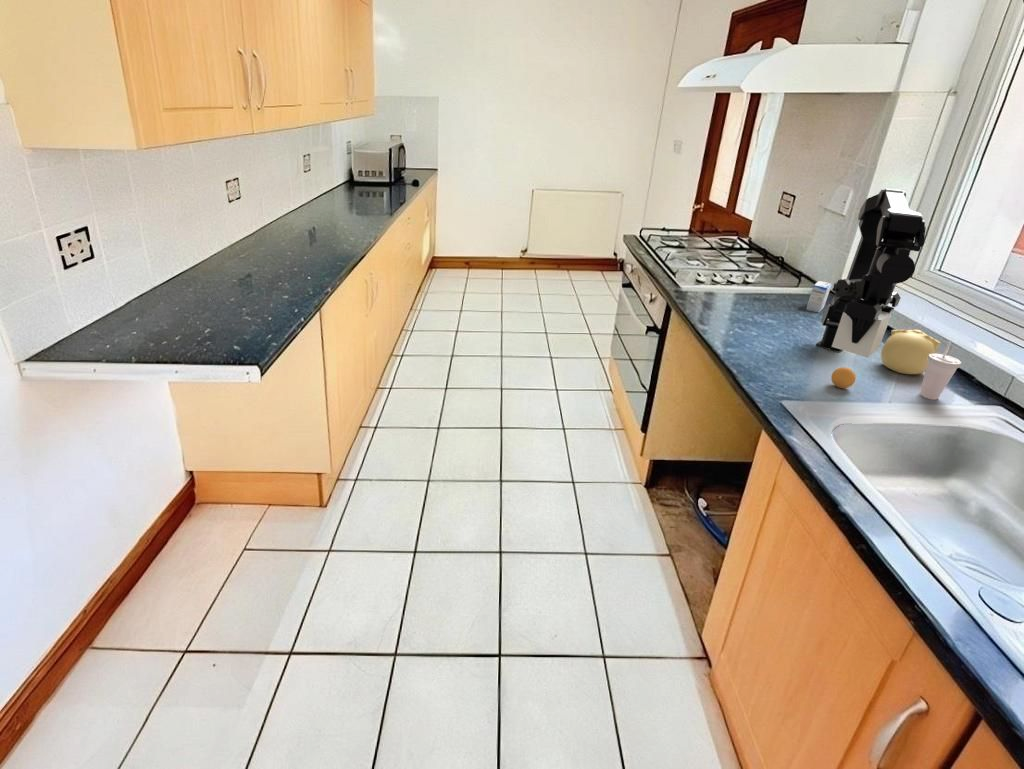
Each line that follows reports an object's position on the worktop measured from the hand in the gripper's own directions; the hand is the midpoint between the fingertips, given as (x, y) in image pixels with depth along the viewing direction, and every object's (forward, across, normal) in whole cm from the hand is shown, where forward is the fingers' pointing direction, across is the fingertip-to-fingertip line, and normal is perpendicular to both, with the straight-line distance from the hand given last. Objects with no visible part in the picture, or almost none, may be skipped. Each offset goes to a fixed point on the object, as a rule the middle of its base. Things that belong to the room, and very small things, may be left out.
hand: (860, 339), depth 131 cm
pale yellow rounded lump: (+13, -26, +6) cm, 30 cm away
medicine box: (+13, -61, -29) cm, 69 cm away
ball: (+10, 0, 0) cm, 10 cm away
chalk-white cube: (+2, 0, 0) cm, 2 cm away
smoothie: (+13, -13, +15) cm, 24 cm away
